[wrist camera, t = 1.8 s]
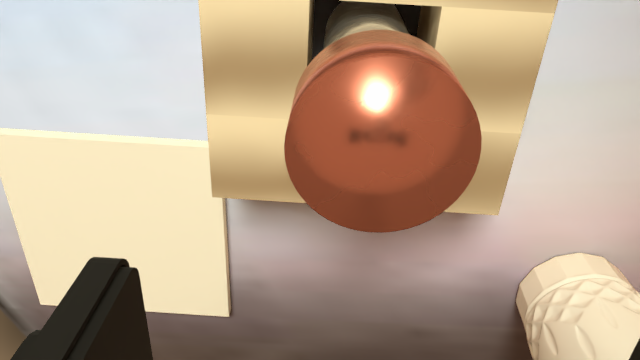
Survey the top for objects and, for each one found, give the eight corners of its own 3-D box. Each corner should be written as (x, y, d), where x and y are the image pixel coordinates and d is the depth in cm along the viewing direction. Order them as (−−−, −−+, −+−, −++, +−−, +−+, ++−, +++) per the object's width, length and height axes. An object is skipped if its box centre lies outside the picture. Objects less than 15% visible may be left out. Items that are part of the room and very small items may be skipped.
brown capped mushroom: (311, -28, 24) (285, 50, 13) (429, -21, 24) (502, 64, 13) (307, 85, 27) (282, 226, 16) (412, 91, 27) (460, 237, 16)
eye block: (218, -137, 22) (188, -141, 18) (542, -118, 22) (591, -117, 18) (231, 150, 29) (212, 197, 25) (475, 165, 29) (498, 215, 25)
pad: (-5, 127, 29) (-14, 133, 28) (222, 141, 29) (219, 148, 28) (46, 296, 36) (40, 304, 35) (231, 308, 36) (228, 316, 35)
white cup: (510, 340, 36) (562, 484, 28) (502, 255, 32) (560, 392, 24) (627, 324, 35) (720, 469, 26) (633, 234, 31) (745, 369, 22)
